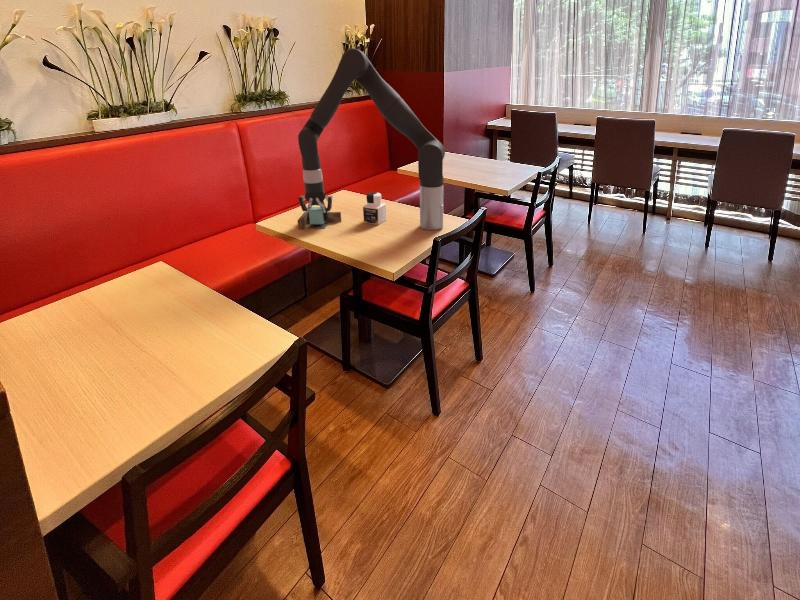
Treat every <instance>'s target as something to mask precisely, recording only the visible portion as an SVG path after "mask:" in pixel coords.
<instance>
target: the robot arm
mask: <svg viewBox="0 0 800 600" xmlns="http://www.w3.org/2000/svg"><path fill="white" fill-rule="evenodd" d="M354 81H356V82H357V83H358V84H359V85H360V86H361V87H362V88H363V89H364V90H365V91H366V93H367V94H368V96H369V97H370V98H371V100H372V103H374V106H375V107H376V108H377V110H378V111H379V113H380V114H381V115H382V116H383V117H384V118H385V121H387V122H388V123H389V124H390V126H392V127H393V128H394V129H395V130H397V131H398V132H399V133H401V134H402V135H404V136H405V137H406V138H408V140H409V141H410V142H412V144H413V145H414V146H415V148H417V150H418V156H417V162H418V163H417V164H418V166H417V167H418V171H417V172H418V178H419V218H420V219H419V225H420V228H421V229H423V230H427V231H436V230H442V229H443V228H444V181H445V180H444V174H443V169H444V167H443V163H444V162H443V161H444V158H445V157H446V155H445V154H446V151H445V147H444V145H443V143H441V141H440V140H438V138H436V137H435V136H434V135H433V134H432V133H431V132H430V131H429V130H428V129H427V128H426V127H425V126H424V125H423V123H422V122H421V121H420V119H419V118H418V116H417V115H416V114H415V113H414V111H413V110H412V109H411V107H410V106H409V105H408V104H407V103H406V102H405V100H404V99H403V98H402V97H401V95H400V94H399V93H398V92H397V91H396V90H395V89H394V88H393V87H392V86H391V85H390V84H389V83H387V82H386V80H385V79H383V78H382V76H381V75H380V74H379V72H378V71H377V70H376V68H375V67H374V65H373V64H372V62H371V61H370V59H369V57H368V56H367V55H366V54H365V52H363V51H362V50H360V49H358V48H353V47H352V48H348V49H347V50H345V51H344V53H343V54H342V56H341V59H340V61H339V62H338V66H337V68H336V71H335V72H334V75H333V77H332V78H331V81H330V83H329V84H328V87H327V88H326V89H325V91H324V92H323V95H321V97H320V99H319V101H318V102H317V104H316V106H315V107H314V109H313V110H312V112H311V114H310V116H309V118H308V119H307V121H306V123H304V125H303V126H302V128H301V130H300V131H299V133H298V135H297V141H298V143H297V144H298V147H299V151H300V154H301V164H302V176H303V177H302V180H303V184H304V191H305V193H304V195H299V197H298V202H299V205H300V208H301V210H302V212H307V215H308V220H310V219H309V210H310V209H311V208H312V207H313V206H318V207H320V208H321V209H322V210H323V217H324V221H326V220H327V219H328V214H327V212H331V209H332V205H333V195H326V193H325V188H324V187H325V186H324V179H323V177H324V176H323V171H322V167H321V165H322V164H321V156H320V155H319V151H318V140H319V138H320V136H321V135H322V133H323V132H324V129H325V128H326V127H328V125H329V124H330V122H331V121H332V118H333V117H334V115H335V114H336V112H337V111H338V108H339V106H340V104H341V103H342V99H343V97H344V95H346V94H345V93H346V92H347V90H348V89H349V88H350V86H351V85H352V84H353V82H354ZM325 200H326V202H327V206H326V203H325V202H324V201H325ZM305 201H307V202H308V203H307V205H306V202H305Z"/></svg>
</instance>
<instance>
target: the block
mask: <svg viewBox="0 0 800 600" xmlns="http://www.w3.org/2000/svg"><path fill="white" fill-rule="evenodd" d="M309 219H310V221H309V225H311V224H324V222H325V221H324V217H323V210H322V209H321V208H320V206H312V208H311V209H310V210H309Z"/></svg>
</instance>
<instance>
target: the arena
mask: <svg viewBox="0 0 800 600" xmlns="http://www.w3.org/2000/svg"><path fill="white" fill-rule="evenodd" d="M327 214H328V219H327V220H326V221H325V222H324V224H309V226H308V229H320V230H321V229H326V228H327V226H328V225H329V222H330V223H332V222H335V223H341V222H342V212H341V211H328V212H327ZM296 221H297V228H298V230H299V231H303V230H304V228H305V227H306V226H307V224H308V223H310V220H308V215H307V212H306V211H303V213H302V214H301V216H300V217H299V218H297V220H296Z"/></svg>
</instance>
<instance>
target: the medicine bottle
mask: <svg viewBox="0 0 800 600" xmlns="http://www.w3.org/2000/svg"><path fill="white" fill-rule="evenodd" d="M362 210H363V211H362V213H363V214H362V215H363V222H364V224H370V225H375V226H376V225H378V226H379V225H381V224H382V223H384V222H385V221H386V220H387V203H384V202H383V203H382V194H381V193H380V192H377V191H373V192H368V193H366V204H365V205H362Z"/></svg>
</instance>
